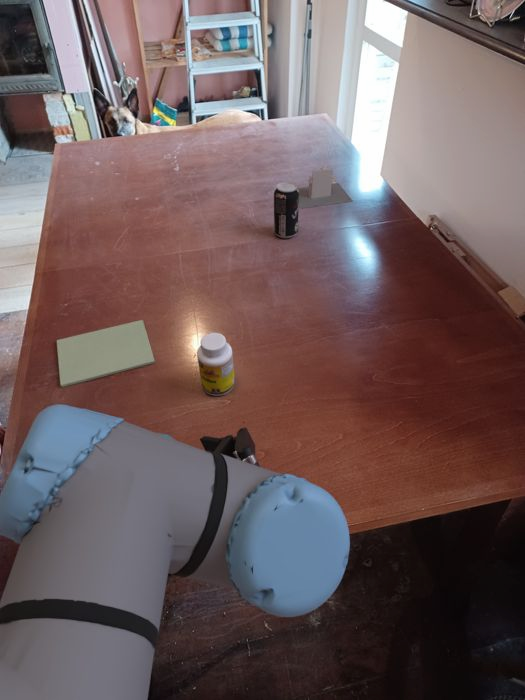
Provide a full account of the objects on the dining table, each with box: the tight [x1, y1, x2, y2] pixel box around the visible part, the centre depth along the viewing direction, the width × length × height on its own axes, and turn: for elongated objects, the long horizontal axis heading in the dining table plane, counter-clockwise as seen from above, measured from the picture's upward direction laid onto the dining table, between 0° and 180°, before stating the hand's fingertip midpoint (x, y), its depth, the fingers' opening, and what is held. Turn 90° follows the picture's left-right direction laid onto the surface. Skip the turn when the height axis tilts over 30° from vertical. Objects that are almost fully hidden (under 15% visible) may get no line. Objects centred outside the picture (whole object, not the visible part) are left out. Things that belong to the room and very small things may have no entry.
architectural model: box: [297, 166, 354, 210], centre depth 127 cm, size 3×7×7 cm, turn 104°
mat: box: [56, 319, 156, 388], centre depth 86 cm, size 16×12×1 cm
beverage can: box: [273, 181, 300, 239], centre depth 111 cm, size 6×6×12 cm
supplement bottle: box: [196, 332, 236, 397], centre depth 77 cm, size 6×6×10 cm
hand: (160, 474), depth 59 cm, fingers open, 13 cm apart
